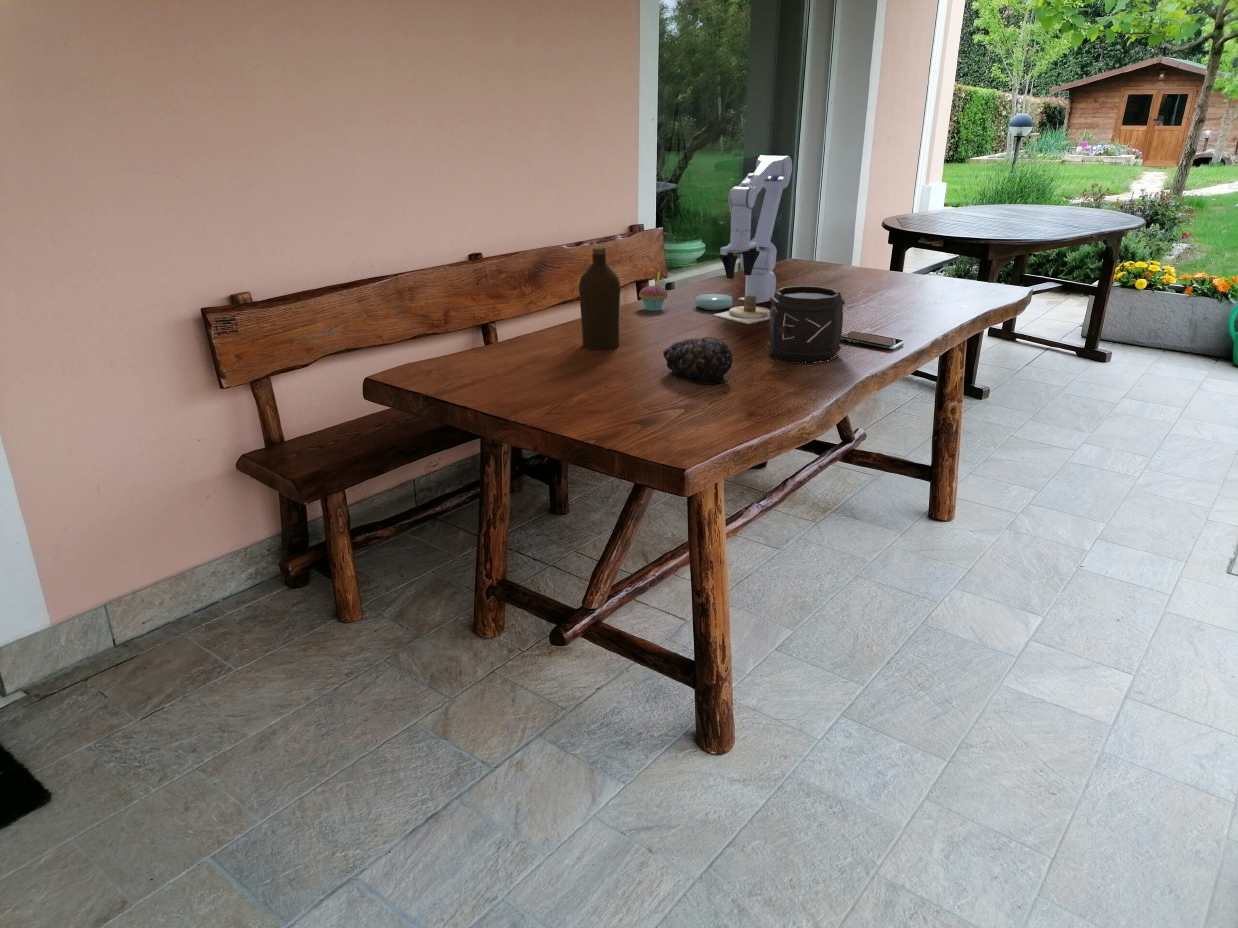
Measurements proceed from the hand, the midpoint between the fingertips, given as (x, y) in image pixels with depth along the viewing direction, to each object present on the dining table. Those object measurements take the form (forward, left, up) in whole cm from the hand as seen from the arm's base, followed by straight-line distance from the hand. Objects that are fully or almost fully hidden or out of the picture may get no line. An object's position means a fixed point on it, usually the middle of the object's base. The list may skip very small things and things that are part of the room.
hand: (738, 276), depth 263 cm
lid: (+3, +7, -10) cm, 12 cm away
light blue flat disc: (+3, -7, -10) cm, 12 cm away
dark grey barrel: (+25, +45, -10) cm, 52 cm away
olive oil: (+56, +4, -10) cm, 57 cm away
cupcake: (+18, -18, -10) cm, 27 cm away
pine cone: (+58, +40, -10) cm, 71 cm away
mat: (+2, +8, -10) cm, 13 cm away
